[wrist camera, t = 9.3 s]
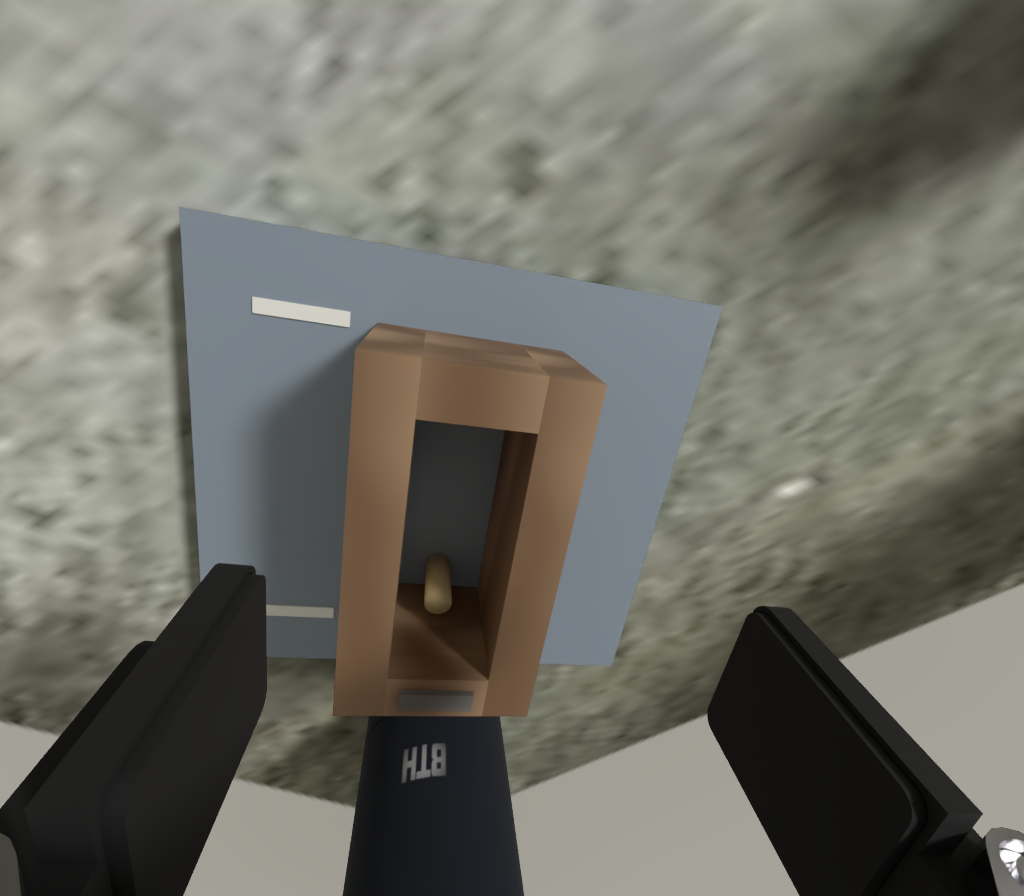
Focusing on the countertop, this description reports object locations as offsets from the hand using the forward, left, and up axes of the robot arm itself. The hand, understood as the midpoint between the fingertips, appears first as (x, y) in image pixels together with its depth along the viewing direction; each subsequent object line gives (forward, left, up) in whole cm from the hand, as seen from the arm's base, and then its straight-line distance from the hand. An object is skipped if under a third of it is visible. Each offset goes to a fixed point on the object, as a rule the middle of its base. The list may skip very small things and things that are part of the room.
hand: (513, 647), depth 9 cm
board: (+1, +2, -11) cm, 11 cm away
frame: (+1, +2, -10) cm, 10 cm away
